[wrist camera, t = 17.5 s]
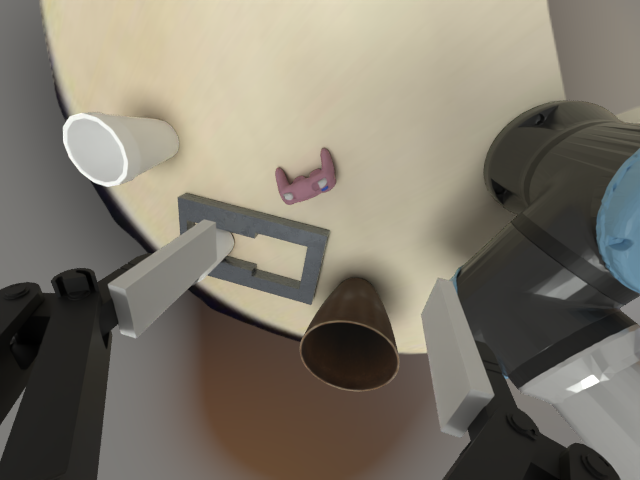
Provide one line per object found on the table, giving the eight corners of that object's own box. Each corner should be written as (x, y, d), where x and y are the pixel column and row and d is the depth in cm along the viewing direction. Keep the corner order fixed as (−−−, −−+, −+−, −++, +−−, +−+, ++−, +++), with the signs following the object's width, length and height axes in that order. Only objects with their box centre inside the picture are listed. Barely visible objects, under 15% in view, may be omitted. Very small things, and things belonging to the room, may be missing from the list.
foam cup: (130, 140, 49) (56, 154, 38) (148, 96, 45) (70, 96, 34) (175, 176, 51) (116, 199, 40) (196, 136, 47) (137, 149, 35)
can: (227, 258, 57) (193, 294, 47) (200, 240, 57) (159, 272, 46) (240, 236, 54) (207, 270, 44) (212, 217, 54) (171, 246, 43)
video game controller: (287, 185, 49) (285, 214, 45) (273, 166, 46) (269, 195, 42) (338, 165, 46) (341, 194, 42) (327, 143, 43) (328, 171, 38)
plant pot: (335, 326, 60) (322, 395, 47) (307, 271, 55) (283, 331, 41) (404, 313, 55) (412, 387, 41) (380, 251, 50) (380, 312, 36)
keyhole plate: (329, 230, 50) (327, 236, 48) (313, 297, 58) (311, 304, 56) (186, 192, 52) (177, 197, 50) (189, 262, 60) (182, 268, 58)
